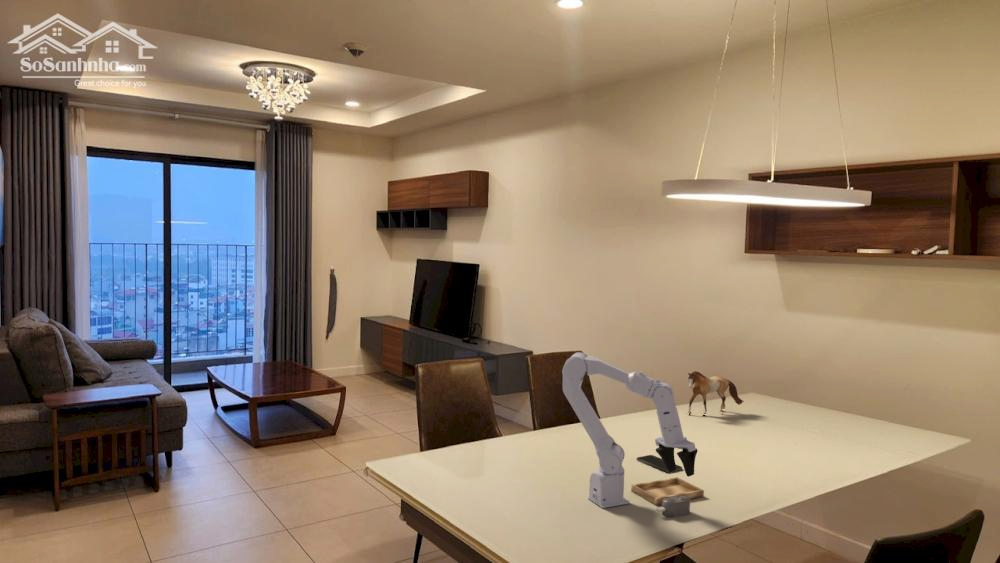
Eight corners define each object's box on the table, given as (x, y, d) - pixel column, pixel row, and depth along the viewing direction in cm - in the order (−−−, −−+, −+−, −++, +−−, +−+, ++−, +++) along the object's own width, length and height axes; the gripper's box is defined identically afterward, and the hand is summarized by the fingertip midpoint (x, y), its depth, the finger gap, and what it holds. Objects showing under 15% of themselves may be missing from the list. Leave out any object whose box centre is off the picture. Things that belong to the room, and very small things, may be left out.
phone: (667, 471, 205) (635, 457, 218) (666, 474, 205) (635, 461, 218) (684, 467, 209) (651, 454, 222) (683, 471, 209) (651, 457, 222)
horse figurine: (688, 418, 275) (690, 372, 274) (677, 414, 282) (679, 369, 281) (744, 413, 286) (746, 369, 285) (732, 409, 294) (734, 366, 293)
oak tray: (656, 505, 178) (656, 498, 178) (631, 491, 188) (631, 484, 188) (703, 497, 185) (703, 490, 185) (677, 483, 196) (677, 477, 196)
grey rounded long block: (662, 519, 169) (662, 505, 169) (653, 514, 172) (654, 500, 172) (692, 513, 173) (692, 499, 173) (683, 508, 177) (684, 494, 176)
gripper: (698, 423, 170) (710, 472, 170) (664, 419, 183) (675, 464, 183) (679, 431, 167) (691, 480, 167) (645, 426, 180) (656, 472, 180)
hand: (681, 473), depth 175 cm, fingers open, 7 cm apart
